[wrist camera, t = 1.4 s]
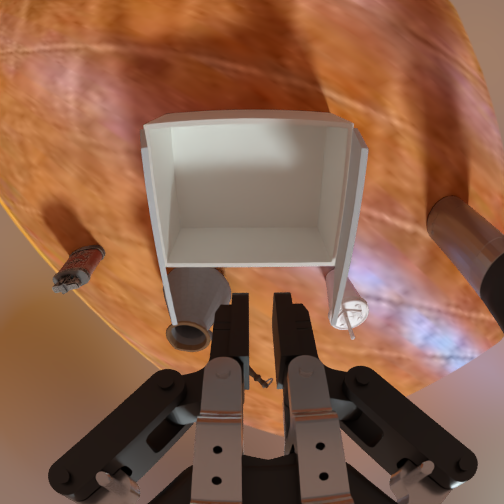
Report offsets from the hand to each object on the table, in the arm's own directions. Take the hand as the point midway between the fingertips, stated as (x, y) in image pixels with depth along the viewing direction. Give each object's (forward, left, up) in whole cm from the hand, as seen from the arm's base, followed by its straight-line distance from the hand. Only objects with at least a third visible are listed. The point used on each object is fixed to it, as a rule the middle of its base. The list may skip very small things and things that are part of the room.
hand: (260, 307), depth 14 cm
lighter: (+30, +17, -31) cm, 46 cm away
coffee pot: (+6, +26, -31) cm, 41 cm away
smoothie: (-14, +22, -31) cm, 41 cm away
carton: (+1, +4, -31) cm, 31 cm away
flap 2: (-9, +4, -15) cm, 18 cm away
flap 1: (+9, +4, -15) cm, 18 cm away
